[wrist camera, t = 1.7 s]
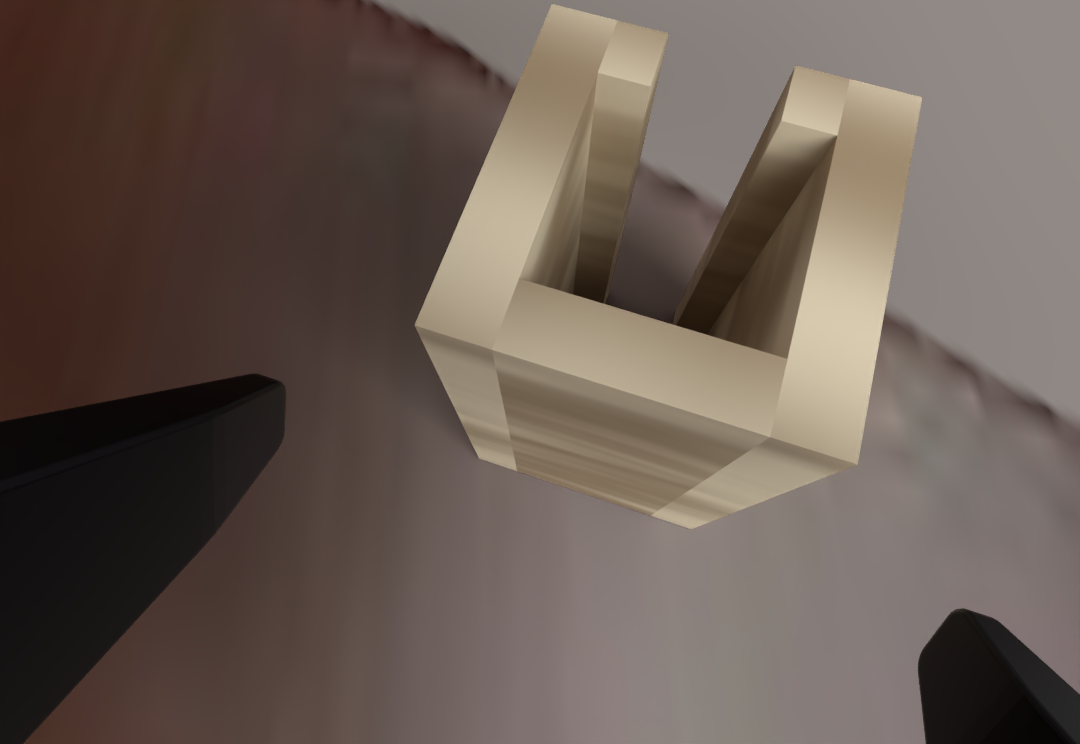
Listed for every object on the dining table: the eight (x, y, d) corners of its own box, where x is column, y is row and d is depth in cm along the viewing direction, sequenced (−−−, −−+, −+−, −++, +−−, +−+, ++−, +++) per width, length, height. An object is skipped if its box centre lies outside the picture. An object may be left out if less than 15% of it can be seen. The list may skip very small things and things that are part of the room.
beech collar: (691, 529, 20) (857, 464, 9) (478, 458, 21) (413, 325, 10) (741, 330, 22) (921, 97, 11) (547, 272, 23) (552, 4, 12)
